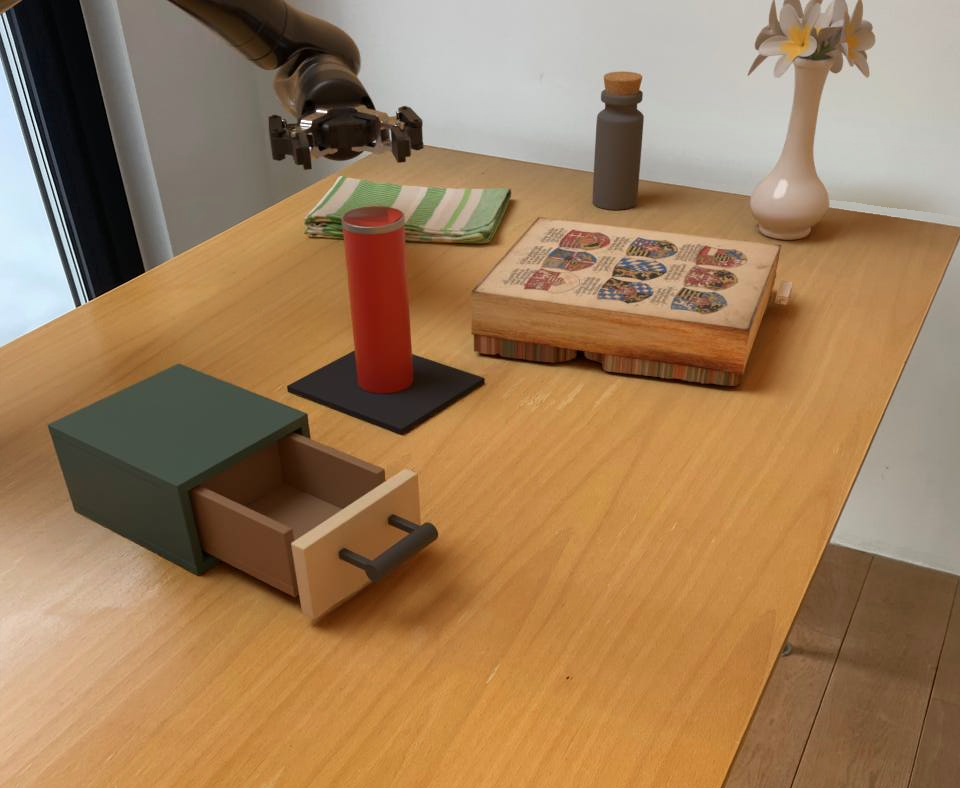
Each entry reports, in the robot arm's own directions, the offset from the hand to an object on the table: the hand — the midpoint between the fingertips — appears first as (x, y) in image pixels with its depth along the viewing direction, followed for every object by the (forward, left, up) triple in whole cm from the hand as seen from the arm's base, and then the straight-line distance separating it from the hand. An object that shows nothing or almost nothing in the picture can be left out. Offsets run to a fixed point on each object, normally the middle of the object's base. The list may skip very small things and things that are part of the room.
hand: (354, 154), depth 93 cm
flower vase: (+20, +54, -18) cm, 60 cm away
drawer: (+22, -30, -17) cm, 41 cm away
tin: (+7, -6, -17) cm, 20 cm away
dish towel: (-20, +31, -18) cm, 41 cm away
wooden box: (+20, +20, -18) cm, 33 cm away
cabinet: (+9, -30, -18) cm, 36 cm away
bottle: (-2, +51, -18) cm, 54 cm away
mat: (+8, -6, -18) cm, 20 cm away
